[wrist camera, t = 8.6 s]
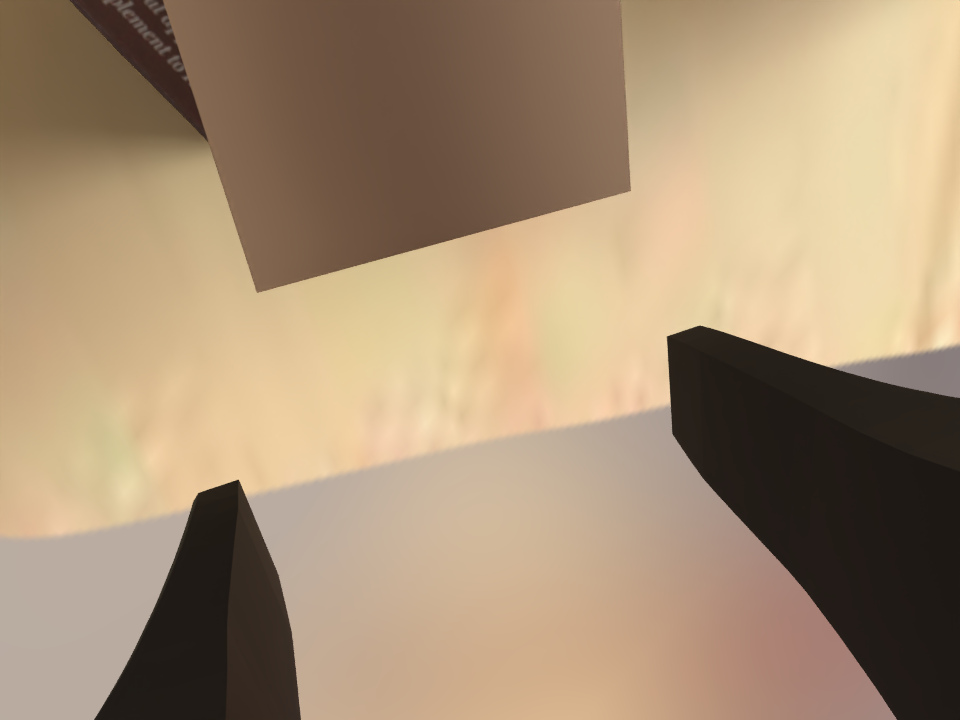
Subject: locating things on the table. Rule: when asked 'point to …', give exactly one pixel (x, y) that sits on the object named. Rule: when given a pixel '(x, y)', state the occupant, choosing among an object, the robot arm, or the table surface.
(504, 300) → the table surface
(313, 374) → the table surface
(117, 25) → the box
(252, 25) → the walnut block
